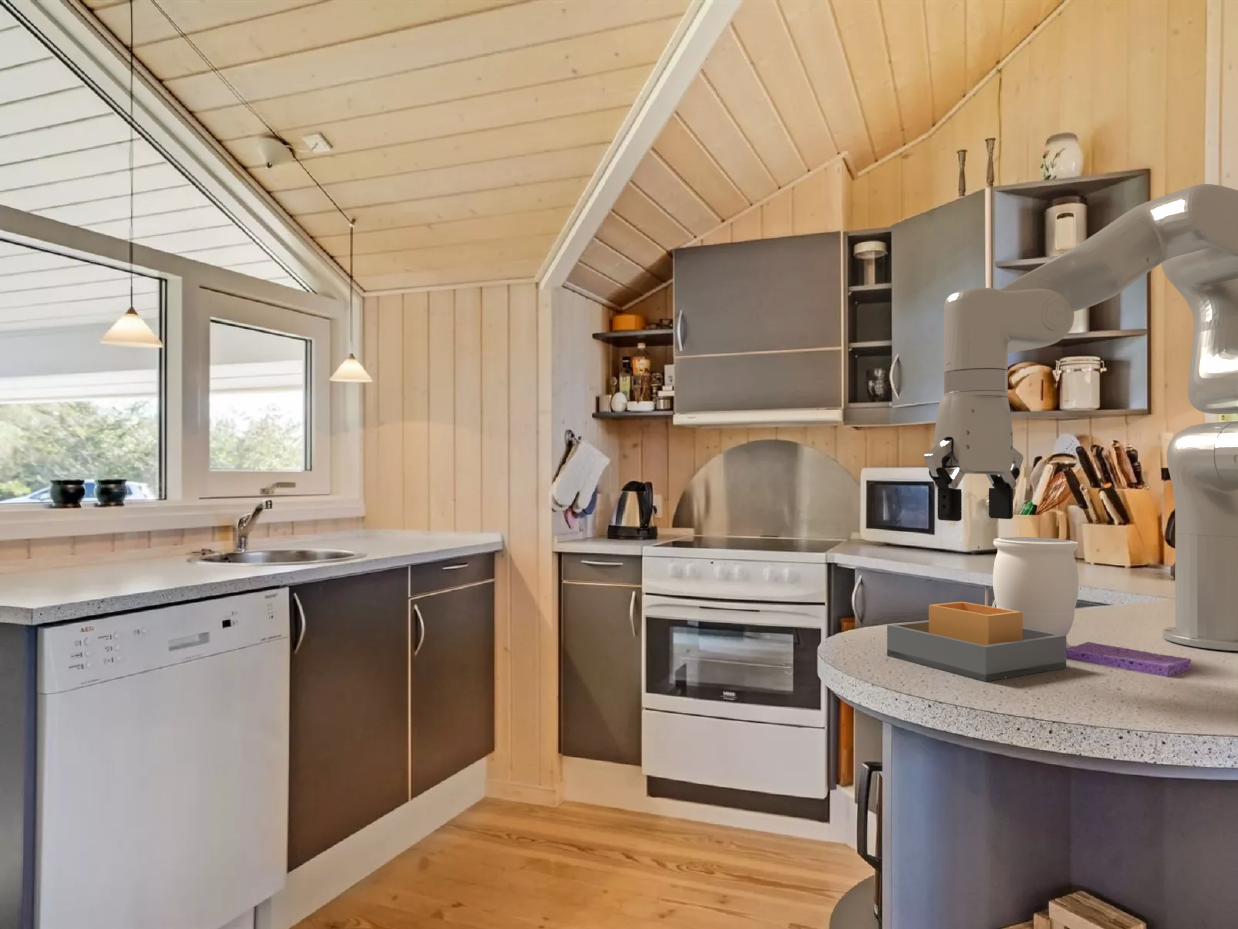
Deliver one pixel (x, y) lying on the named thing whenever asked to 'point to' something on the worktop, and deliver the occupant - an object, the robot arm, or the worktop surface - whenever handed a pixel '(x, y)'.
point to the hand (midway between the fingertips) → (975, 519)
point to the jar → (1037, 581)
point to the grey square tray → (977, 652)
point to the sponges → (1129, 659)
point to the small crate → (975, 623)
